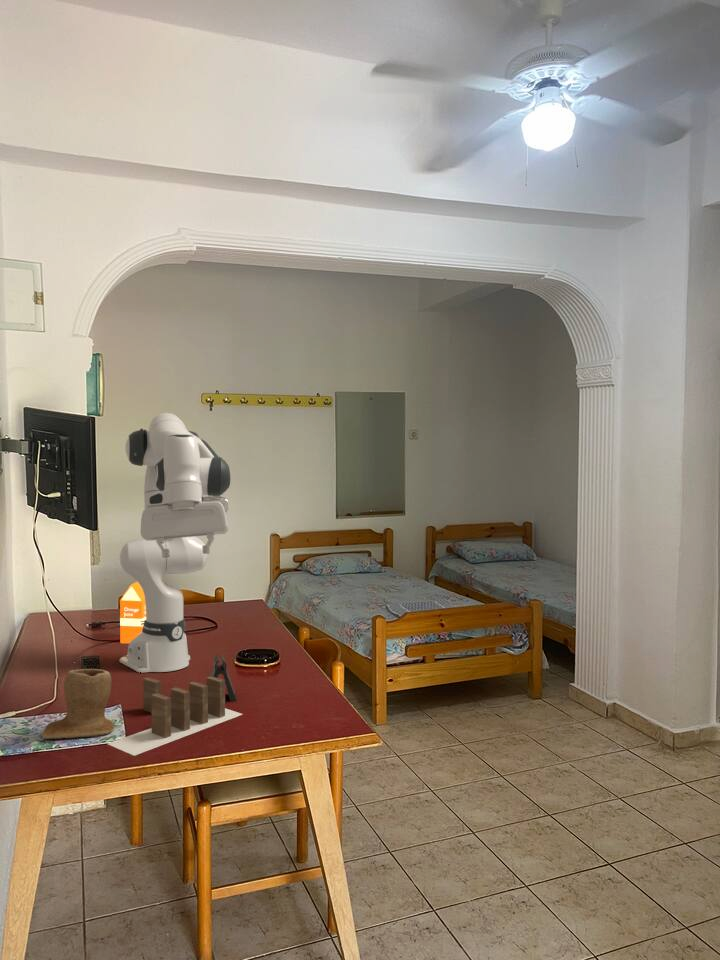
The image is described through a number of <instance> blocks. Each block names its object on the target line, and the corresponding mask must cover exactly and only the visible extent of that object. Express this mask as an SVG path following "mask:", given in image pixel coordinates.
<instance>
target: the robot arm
mask: <svg viewBox="0 0 720 960" xmlns="http://www.w3.org/2000/svg"><path fill="white" fill-rule="evenodd" d="M124 449H125V454H126V456H127V459H128V462H130V464H132V465H134V466H139V467H142V466H146V471H145V476H144V487H143V488H144V489H143V492H144V494H143V495H144V496H143V497H144V498H143V499H144V509H143V511H142V513H141V519H140V536H141V537H142V538H141V539H135V540H132V541H128V542H126V543H125V544H124V545H123V547H122V548H121V550H120V554H119V562H120V565H121V568H122V569H123V570H124V572H125V573H127V575H129V576H130V577H132V578H133V579H134V580H135V582H138V583H139V585H140V586H141V588H142V590H143V593H144V597H145V605H146V620H144V621H141V622H144V623H142V624H141V625H143V624H144V625H143V629H142V632H141V633H140V634H139V635H138V636H136V637H135V638H134V639H133V640H131V641H130V643H128V646H127V655H123V656H122V657H120V658H119V663H121V664H123V665H124V666H126V667H127V668H128V667H129V668H130V669H132V670H134V671H136V672H137V673H140V672H141V673H142V674H143V673H163V672H164V673H165V672H173V671H178V670H181V669H182V670H183V669H185V668H186V667H189V665H190V660H191V655H190V654H189V651H188V640H187V635H186V633H185V630H186V619H185V618H184V595H183V592H182V591H181V590H180V589H179V588H178V587H175V586H173V585H172V584H169V583H166V582H165V581H164V580H163V576H165V575H180V574H181V575H183V574H190V573H194V572H198V571H201V570H203V569H204V567H205V566H206V564H207V563H208V559H209V554H211V549H210V547H211V546H212V544H213V542H214V541H215V540H214V539H215V535H224V534H227V532H228V531H229V522H228V521H229V520H228V517H227V512H228V510H229V502H228V501H229V500H228V499H227V498H225V497H224V496H222V495H224V494H225V492H227V490H229V488H230V485H231V480H232V479H231V478H232V476H231V474H232V473H231V469H230V466H229V464H228V462H227V461H226V460H225V459H223V457H221V456H219V455H218V454H217V453H216V452H215V451H214V450H213V449H212V447H211V446H210V445H209V444H208V443H207V441H205V440H204V439H203V438H201V437H200V436H199V434H198V433H197V432H195V431H191V430H188V428H187V427H186V425H185V423H184V422H183V421H182V420H181V418H180V417H178V416H177V415H176V414H174V413H171V412H162V413H159V414H157V415H156V416H155V417H153V418H152V420H151V421H150V424H149V427H148V429H143V428H140V429H139V430H135V431H132V432H131V433H130V434H129V435H128V438H127V439H126V442H125V448H124ZM202 536H203V537H205V536H206V539H208V540H207V542H206V544H205V542H203V540H201V539H200V538H199V537H202Z"/></svg>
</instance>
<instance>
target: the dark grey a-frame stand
mask: <svg viewBox="0 0 720 960" xmlns="http://www.w3.org/2000/svg"><path fill="white" fill-rule="evenodd" d="M220 659H221V662H222V663H221V664H218V663H219V662H220V660H219V655H218V654H216V655H215V656H214V657H213V666H212V669H211V673H210V676H213V677H216V678H219V675H223V680H225V688H226V689H227V690H226V691H227V694H228V698H229V701H230V703H231V702H233V703H234V702H238V699H237V696H236V693H235V690H234V688H233V687H234V686H233V685H232V682H231V679H230V676H229V674H228V671H227V662H226V659H225V656H224V655H223V654H220ZM210 676H209V677H210Z"/></svg>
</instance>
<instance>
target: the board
mask: <svg viewBox="0 0 720 960" xmlns="http://www.w3.org/2000/svg"><path fill="white" fill-rule="evenodd" d="M242 715H243V713H241V712H237V711H234V710H232V709H228V708H226V707H225V716H224V717H221V718H219V717H216V716H213V715H210V714H208V723H205V724H200V723H198V722H195V721H192V720H190V729H189V730H186V731H183V730H180V729H177V728H175V727H172V726H171V736H170V737H168V738H163V737H161V736H158V735H156V734H153V733H152V727H150V728H148V729H144V730H142V731H139V732H136V733H134V734H130V735H128V736H125V737H122V738H120V739H117V740H114V741H111V742H108V743H107V745H108V746H111V747H113V748H114V749H118V750H120V751H122V752H124V753H127V754H129V755H131V756H134V757H135V756H137V755H140V754H143V753H145V752H147V751H151V750H153V749H155V748H159V747H161V746H163V745H167V744H169V743H172V742H174V741H177V740H179V739H182V738H184V737H187V736H190V735H193V734H195V733H198V732H200V731H203V730H206V729H208V728H212V727H214V726H217V725H219V724H221V723H224V722H226V721H230V720H232V719H235V718H237V717H241V716H242Z"/></svg>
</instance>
